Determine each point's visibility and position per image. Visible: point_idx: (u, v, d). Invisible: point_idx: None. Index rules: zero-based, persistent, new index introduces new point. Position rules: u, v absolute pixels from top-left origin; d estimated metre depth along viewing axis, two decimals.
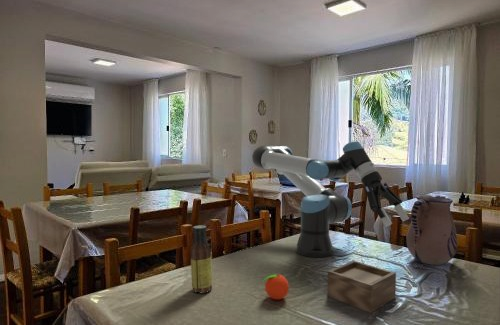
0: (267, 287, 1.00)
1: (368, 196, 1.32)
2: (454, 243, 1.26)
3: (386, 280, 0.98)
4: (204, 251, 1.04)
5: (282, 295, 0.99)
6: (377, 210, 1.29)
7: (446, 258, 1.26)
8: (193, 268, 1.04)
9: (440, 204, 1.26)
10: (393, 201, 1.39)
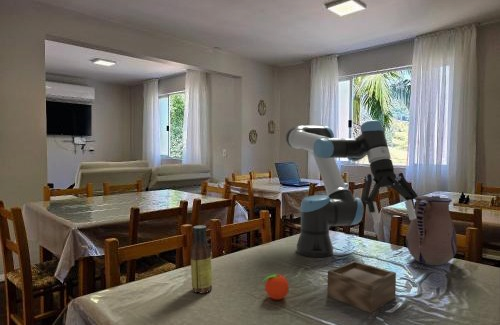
0: (267, 287, 1.00)
1: (365, 186, 1.20)
2: (456, 241, 1.27)
3: (386, 280, 0.98)
4: (204, 251, 1.04)
5: (282, 295, 0.99)
6: (368, 203, 1.17)
7: (450, 257, 1.27)
8: (193, 268, 1.04)
9: (442, 203, 1.27)
10: (404, 195, 1.21)
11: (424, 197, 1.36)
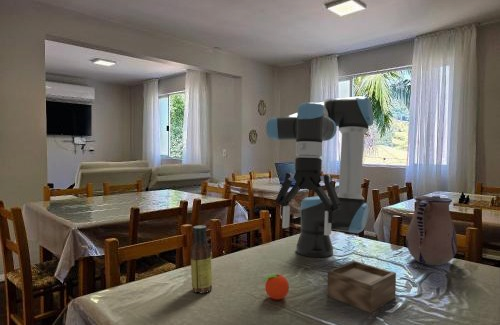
0: (267, 287, 1.00)
1: None
2: (456, 242, 1.27)
3: (386, 280, 0.98)
4: (204, 251, 1.04)
5: (282, 295, 0.99)
6: None
7: (450, 257, 1.26)
8: (193, 268, 1.04)
9: (442, 204, 1.26)
10: None
11: (424, 197, 1.35)
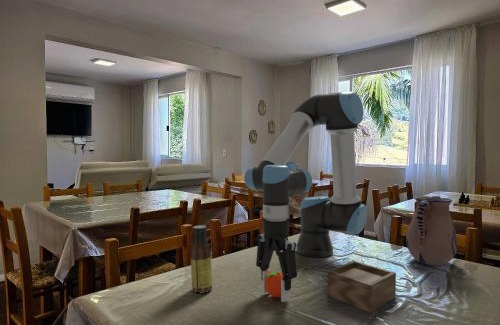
0: (267, 285, 1.00)
1: None
2: (456, 242, 1.27)
3: (386, 280, 0.98)
4: (204, 251, 1.04)
5: None
6: None
7: (450, 257, 1.26)
8: (193, 268, 1.04)
9: (443, 204, 1.26)
10: None
11: (425, 197, 1.35)
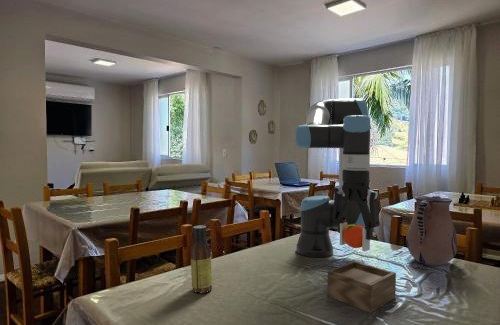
0: (347, 235, 1.01)
1: None
2: (456, 242, 1.27)
3: (386, 280, 0.98)
4: (204, 251, 1.04)
5: None
6: None
7: (450, 257, 1.26)
8: (193, 268, 1.04)
9: (443, 204, 1.26)
10: None
11: (425, 197, 1.35)
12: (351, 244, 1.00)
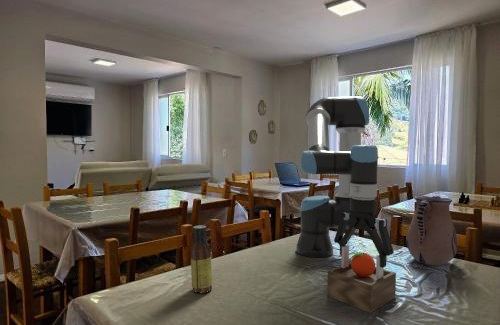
0: (355, 265, 1.01)
1: None
2: (456, 242, 1.27)
3: (386, 280, 0.98)
4: (204, 251, 1.04)
5: (370, 272, 1.00)
6: None
7: (450, 257, 1.26)
8: (193, 268, 1.04)
9: (443, 204, 1.26)
10: None
11: (425, 197, 1.35)
12: (359, 273, 1.01)
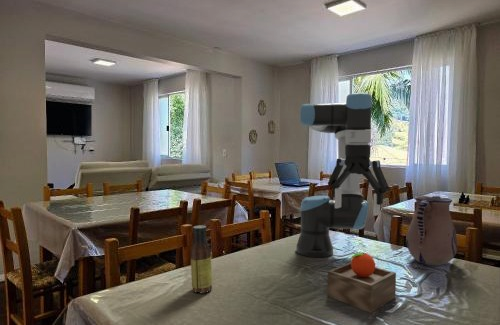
0: (355, 265, 1.01)
1: None
2: (456, 242, 1.27)
3: (386, 280, 0.98)
4: (204, 251, 1.04)
5: (370, 272, 1.00)
6: None
7: (450, 257, 1.26)
8: (193, 268, 1.04)
9: (443, 204, 1.26)
10: None
11: (425, 197, 1.35)
12: (359, 273, 1.01)
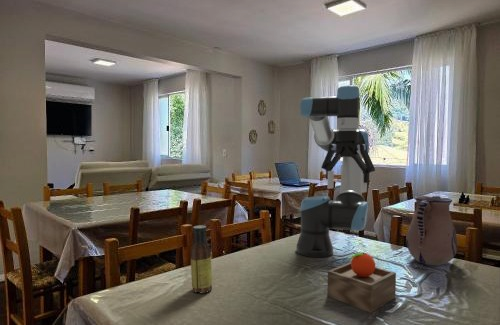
0: (355, 265, 1.01)
1: None
2: (456, 242, 1.27)
3: (386, 280, 0.98)
4: (204, 251, 1.04)
5: (370, 272, 1.00)
6: None
7: (450, 257, 1.26)
8: (193, 268, 1.04)
9: (443, 204, 1.26)
10: None
11: (425, 197, 1.35)
12: (359, 273, 1.01)
